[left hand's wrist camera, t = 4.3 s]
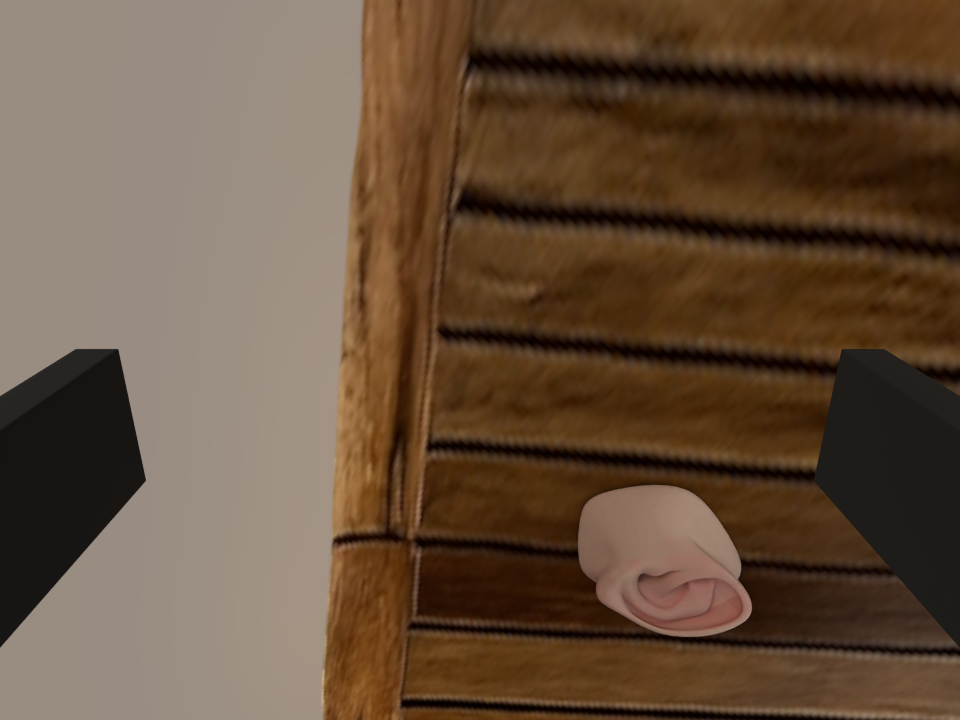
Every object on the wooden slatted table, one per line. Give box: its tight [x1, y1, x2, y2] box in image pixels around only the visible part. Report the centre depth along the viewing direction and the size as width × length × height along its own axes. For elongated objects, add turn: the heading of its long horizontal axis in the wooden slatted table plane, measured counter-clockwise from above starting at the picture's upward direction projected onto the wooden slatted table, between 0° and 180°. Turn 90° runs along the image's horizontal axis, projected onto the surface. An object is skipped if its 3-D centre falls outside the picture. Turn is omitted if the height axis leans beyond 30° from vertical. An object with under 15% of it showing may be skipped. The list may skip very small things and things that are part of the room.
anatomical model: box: [578, 485, 752, 637], centre depth 50 cm, size 13×4×12 cm
